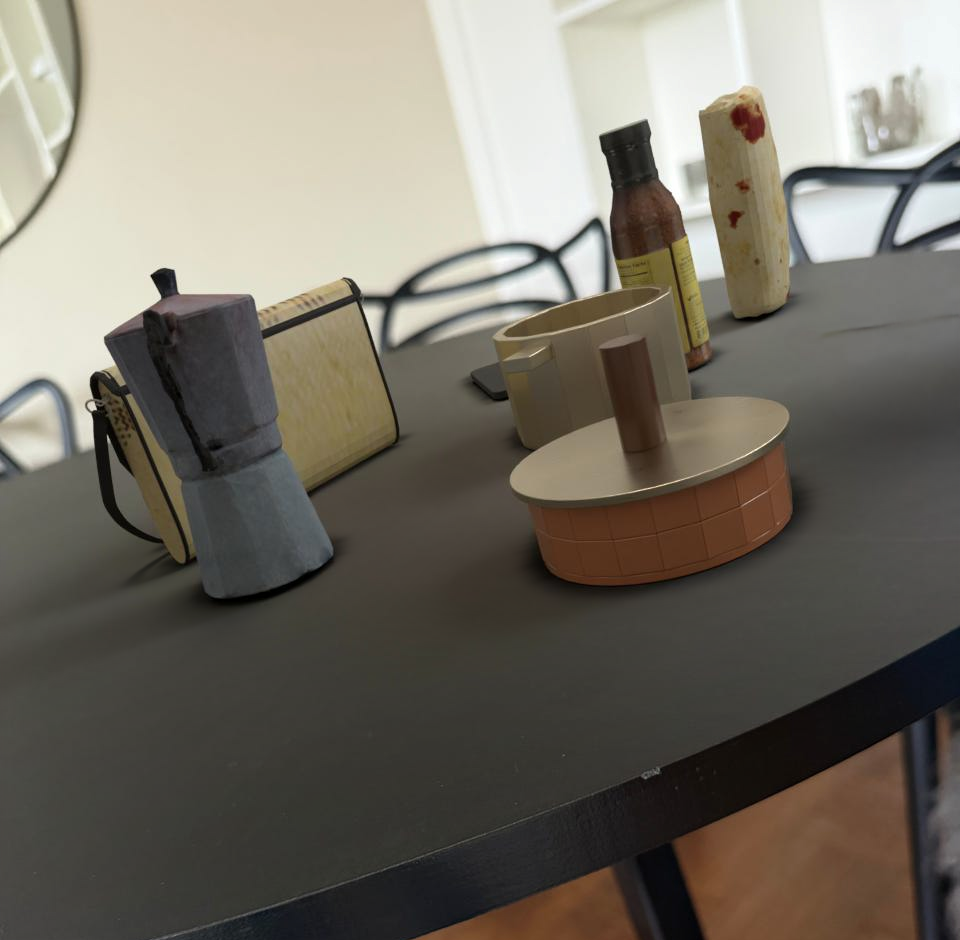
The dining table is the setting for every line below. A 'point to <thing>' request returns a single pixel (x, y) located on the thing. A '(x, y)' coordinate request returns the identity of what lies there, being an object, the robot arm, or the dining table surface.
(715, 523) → the pan
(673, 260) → the sauce bottle
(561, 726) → the dining table surface
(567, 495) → the lid
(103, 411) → the clutch purse
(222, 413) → the moka pot
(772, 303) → the food model
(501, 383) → the phone
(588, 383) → the pot
